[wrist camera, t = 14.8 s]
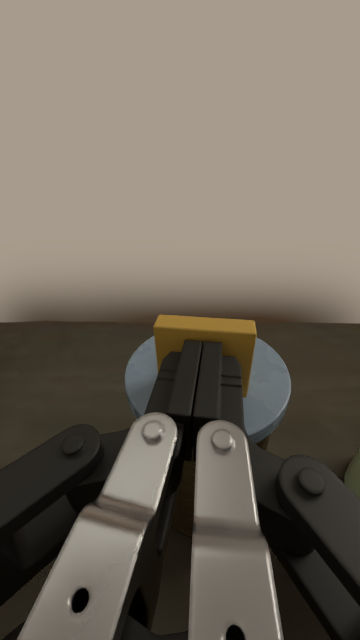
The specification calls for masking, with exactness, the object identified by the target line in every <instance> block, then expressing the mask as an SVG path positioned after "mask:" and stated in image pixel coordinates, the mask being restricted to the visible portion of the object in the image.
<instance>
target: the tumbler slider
mask: <svg viewBox="0 0 360 640" xmlns="http://www.w3.org/2000/svg"><path fill="white" fill-rule="evenodd" d="M153 329H154V338H155V348H156V358H157V368H158V372H159V369H160V366H161V363H162V360H163V359H164V358H165V357H166V356H167V355H168V354H169V353H170V352H171V351H175V352H181V351H182V347H183V344H184V340H195V341H203V345H204V341H210V342H222V355H224V356H235V357H236V359H237V360H238V362H239V363H240V365H241V372H242V391H243V398H246V397H247V393H248V386H249V380H250V374H251V367H252V361H253V355H254V348H255V342H256V336H257V333H256V326H255V321H253V320H237V319H221V318H205V317H189V316H173V315H159V316H158V318H157V320H156V322H155V324H154V327H153Z"/></svg>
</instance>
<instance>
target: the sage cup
mask: <svg viewBox="0 0 360 640" xmlns="http://www.w3.org/2000/svg"><path fill="white" fill-rule="evenodd" d="M345 485H346V486H347V487H348V488H349V489H350V490H351V491H352V492H354V493H355V494H356V495H357V496H358V497H359V498H360V445H359V447H358V449H357V450H356V452H355V454H354V455H353V457H352V459H351V461H350V462H349V464H348V466H347V469H346V471H345Z"/></svg>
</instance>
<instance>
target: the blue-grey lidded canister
mask: <svg viewBox="0 0 360 640" xmlns="http://www.w3.org/2000/svg"><path fill="white" fill-rule="evenodd" d="M157 375H158V368H157V358H156V348H155V338H154V336H153V337H151V338H150V339H148V340H147V341H145V342H144V343H143V344H142V345H141V346H140V347H139V348H138V349H137V350H136V351H135V352H134V353H133V355H132V357H131V358H130V360H129V362H128V365H127V367H126V372H125V382H124V383H125V389H126V394H127V399H128V403H129V406H130V409H131V411H132V413H133V414H134V416H135V418H136V419H138V418H140V417H141V416H143V415H144V413H145V410H146V407H147V404H148V401H149V398H150V395H151V393H152V390H153V387H154V384H155V381H156V379H157ZM290 394H291V381H290V375H289V372H288V370H287V367H286V365H285V363H284V362H283V360H282V359H281V357H280V356H279V355H278V354H277V353H276V352H275V351H274V350H273V349H272V348H271V347H270V346H269V345H268V344H266V343H265V342H264V341H262V340H260V339H259V338H257V337H256V342H255V348H254V355H253V361H252V367H251V374H250V380H249V386H248V393H247V397H246V398H243V410H244V425H245V429H246V432H247V434H248V436H249V437H250V439H251V440H252V441H253V442H254V443H255V444H256V445H257V446H258V447H260V448H261V449H263V450H265V451H266V449H267V445H268V441H269V437H270V434H271V432H272V431H273V430H274V429H276V428H277V426H278V425H279V423H280V422H281V420H282V419H283V416H284V414H285V412H286V409H287V406H288V402H289V398H290ZM195 472H196V462H193V452H192V460H191V462H190V461H184V465H183V471H182V478H181V482H180V489H179V493H178V497H177V502H176V506H175V511H174V515H173V519H172V524H171V526H172V527H173V528H174V529H175V530H177V531H178V532H180V533H182V534H184V535H186V536H188V537H191V538H192V535H193V521H194V497H195Z"/></svg>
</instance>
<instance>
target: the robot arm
mask: <svg viewBox="0 0 360 640" xmlns="http://www.w3.org/2000/svg"><path fill="white" fill-rule="evenodd" d="M192 452H193V462H196V472H195V497H194V521H193V535H192V556H191V581H190V605H189V629H188V631H186V632H180V633H174V634H167V635H156V634H154V633H152V632H151V627H152V622H153V618H154V613H155V608H156V604H157V599H158V594H159V589H160V583H161V576H162V566H163V560H164V555H165V550H166V546H167V541H168V537H169V533H170V528H171V524H172V519H173V515H174V511H175V506H176V502H177V497H178V493H179V489H180V482H181V478H182V471H183V465H184V461H190V462H191V460H192ZM266 540H267V541H266ZM267 542H268V544H269V546H270V547H271V549H272V550H273V552H274V553H275V555H276V557H277V558H278V560H279V561H280V563H281V564H282V566H283V567H284V569H285V570H286V572H287V573H288V575H289V576H290V578H291V579H292V581H293V582H294V584H295V585H296V587H297V588H298V590H299V591H300V593H301V594H302V596H303V597H304V599H305V600H306V602H307V603H308V605H309V606H310V608H311V609H312V611H313V612H314V614H315V615H316V617H317V618H318V620H319V621H320V623H321V625H322V626H323V628H324V629H325V631H326V632H327V634H328V635H329V637H330V638H331V640H360V498H359V497H358V496H357V495H356V494H355V493H354V492H352V491H351V490H350V489H349V488H348V487H347V486H346V485H345V484H344V483H343V482H342V481H341V480H340V479H339V478H338V477H337V476H336V475H335V474H334V473H333V472H332V471H331V470H330V469H329V468H328V467H326V466H325V465H324V464H323V463H321V462H320V461H318V460H316V459H314V458H312V457H309V456H305V455H293V456H290V457H288V458H286V459H285V460H284V459H282V458H280V457H278V456H275V455H273V454H271V453H269V452H267V451H265V450H263V449H261V448H260V447H258V446H257V445H256V444H255V443H254V442H253V441H252V440H251V439H250V437H249V436H248V434H247V432H246V429H245V425H244V410H243V391H242V372H241V365H240V363H239V362H238V360H237V359H236V357H235V356H224V355H222V342H210V341H204V345H203V341H195V340H184V344H183V347H182V351H181V352H175V351H171V352H170V353H169V354H168V355H167V356H166V357H165V358H164V359H163V360H162V363H161V366H160V369H159V372H158V375H157V379H156V381H155V384H154V387H153V390H152V393H151V395H150V398H149V401H148V404H147V407H146V410H145V413H144V415H143V416H141V417H140V418H138V419H137V420H136V421H135V422H134V423H133V425H132V426H131V427H130V428H128V429H126V430H123V431H119V432H113V433H107V434H102V435H99V433H98V431H97V430H96V429H95V428H94V427H93V426H90V425H86V424H80V425H75V426H72V427H69V428H67V429H65V430H64V431H62V432H61V433H59V434H57V435H56V436H54V437H52V438H51V439H49V440H48V441H46V442H44V443H43V444H41V445H40V446H38V447H36V448H35V449H33V450H32V451H30V452H28V453H27V454H25V455H24V456H22V457H20V458H19V459H17V460H15V461H14V462H12V463H11V464H9V465H7V466H6V467H4V468H3V469H1V470H0V606H2V605H3V604H4V603H5V602H6V601H7V600H8V599H9V598H11V597H12V596H13V595H14V594H15V593H16V592H17V591H18V590H20V589H21V588H22V587H23V586H24V585H25V584H26V583H27V582H29V581H30V580H31V579H32V578H33V577H34V576H35V575H36V574H38V573H39V572H40V571H41V570H42V569H43V568H44V567H45V566H47V565H48V564H49V563H50V562H51V561H52V560H53V559H54V558H56V557H57V556H58V557H57V559H56V561H55V563H54V565H53V567H52V569H51V571H50V573H49V575H48V577H47V579H46V581H45V583H44V585H43V587H42V589H41V591H40V593H39V595H38V597H37V599H36V602H35V604H34V606H33V608H32V610H31V612H30V614H29V616H28V618H27V620H26V621H25V622H23V623H22V624H20V625H19V626H18V627H17V628H15V629H14V630H13V631H12V632H10V633H9V634H8V635H7V636H6V637H5V638H4V639H3V640H284V638H283V632H282V626H281V620H280V613H279V607H278V601H277V594H276V588H275V582H274V575H273V569H272V563H271V557H270V552H269V548H268V544H267Z"/></svg>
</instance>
